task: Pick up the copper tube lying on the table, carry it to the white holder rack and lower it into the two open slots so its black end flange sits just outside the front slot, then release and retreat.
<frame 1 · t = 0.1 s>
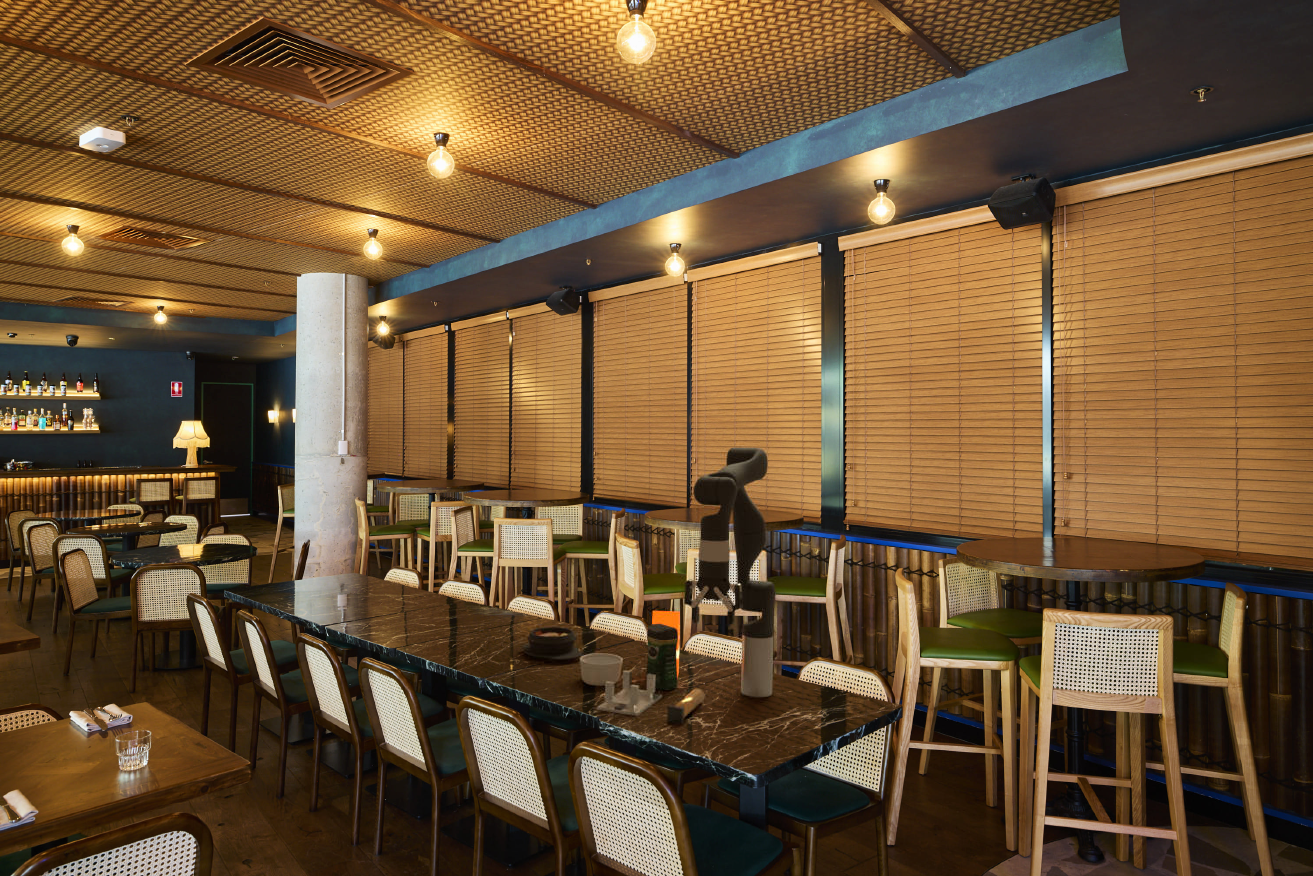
hand: (712, 624, 193), 29 cm above the table, fingers open, 8 cm apart
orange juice: (664, 674, 253), on the table
white holder rack: (630, 703, 223), on the table
tube: (687, 712, 216), on the table
ramekin: (600, 681, 244), on the table
casserole: (551, 656, 272), on the table
coffee jar: (661, 686, 239), on the table
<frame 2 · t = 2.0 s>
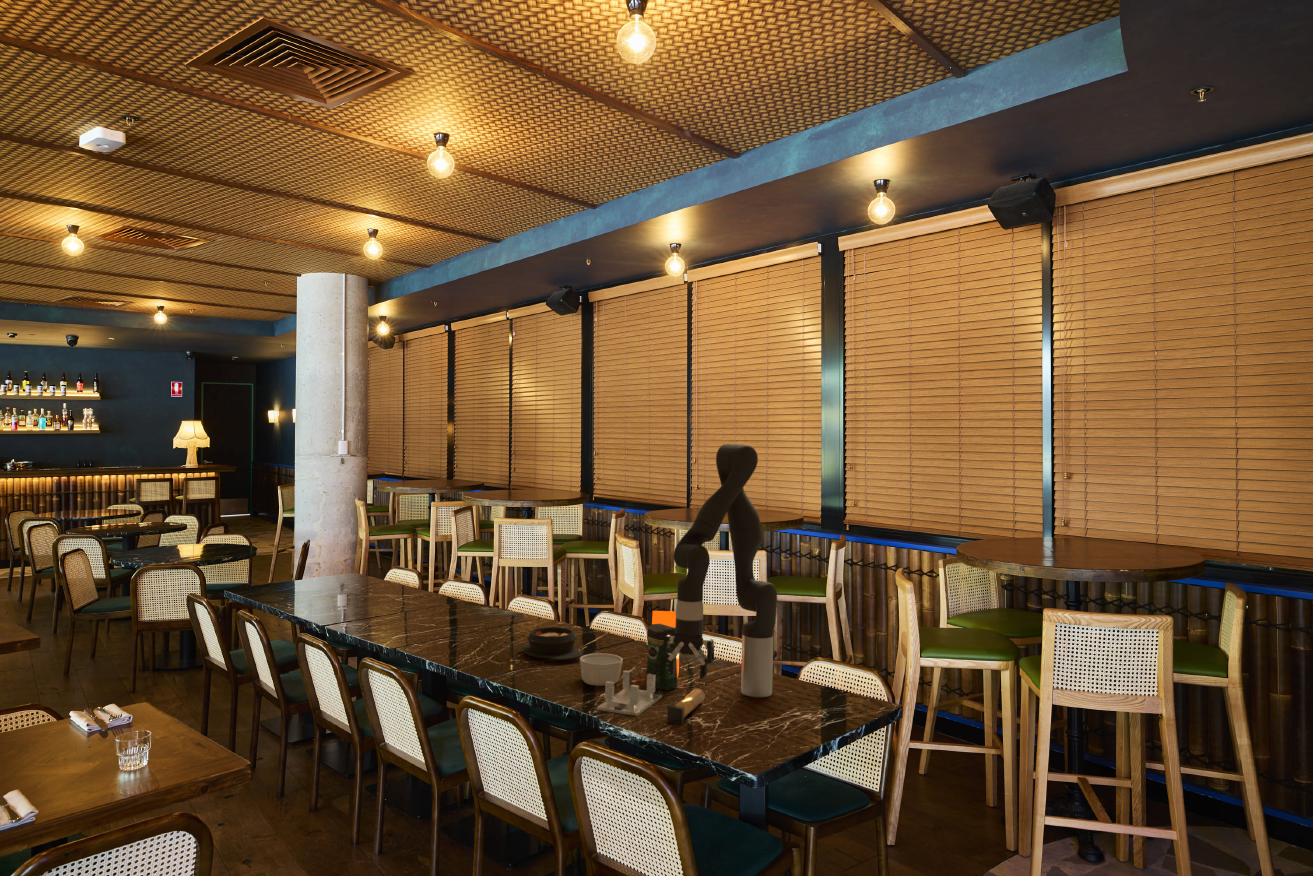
hand: (687, 676, 216), 10 cm above the table, fingers open, 8 cm apart
nothing on the table moved.
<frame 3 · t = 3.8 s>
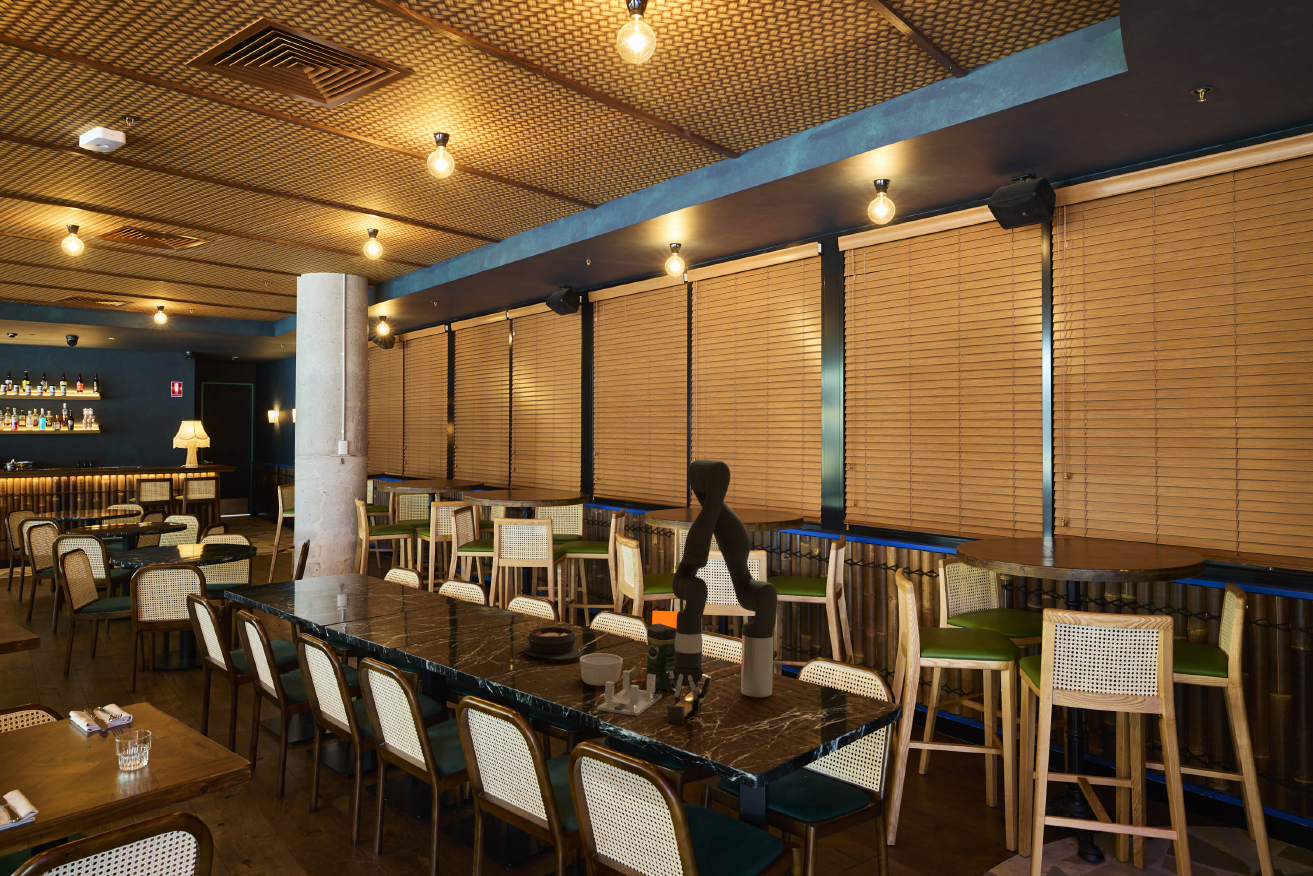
hand: (687, 711, 216), 0 cm above the table, fingers closed on tube, 4 cm apart
tube: (687, 712, 216), on the table, touching gripper
everything else where it was.
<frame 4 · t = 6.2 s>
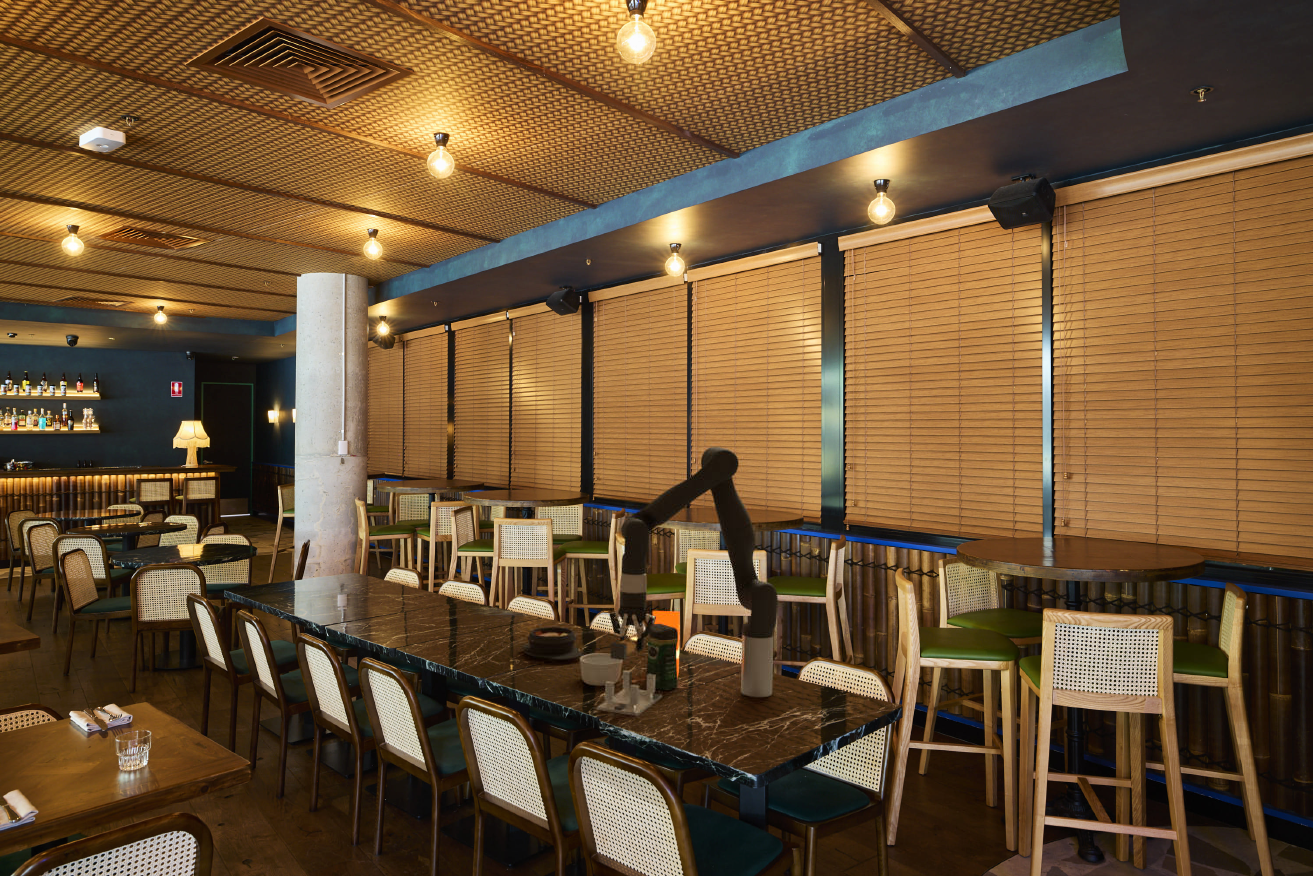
hand: (631, 649, 223), 15 cm above the table, fingers closed on tube, 4 cm apart
tube: (631, 651, 222), point 15 cm above the table, touching gripper
everything else where it was.
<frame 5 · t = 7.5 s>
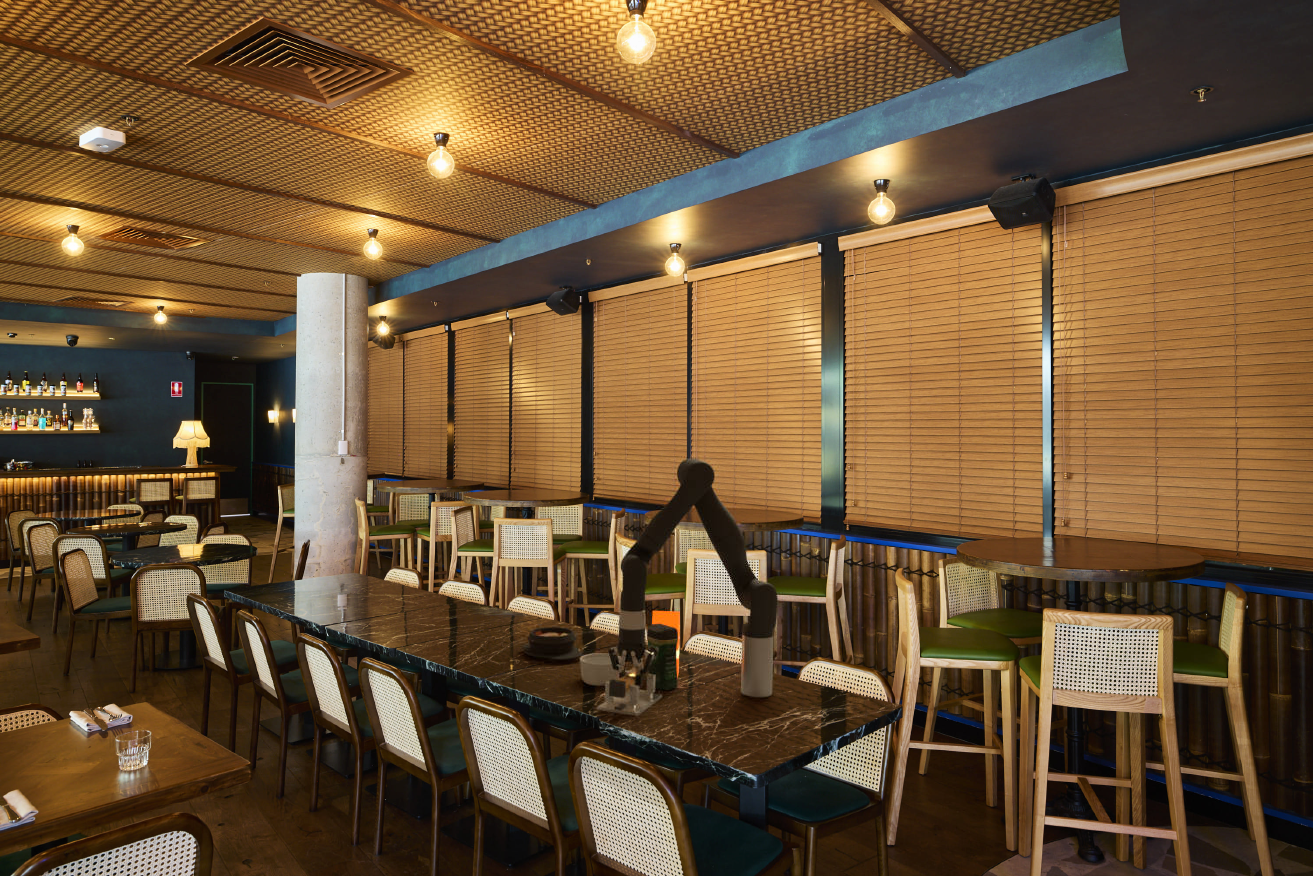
hand: (630, 686, 223), 5 cm above the table, fingers closed on tube, 4 cm apart
tube: (630, 687, 222), point 5 cm above the table, touching gripper
everything else where it was.
when the fingers open (4 cm above the table, at t = 8.4 s): tube drops 1 cm, resting on white holder rack.
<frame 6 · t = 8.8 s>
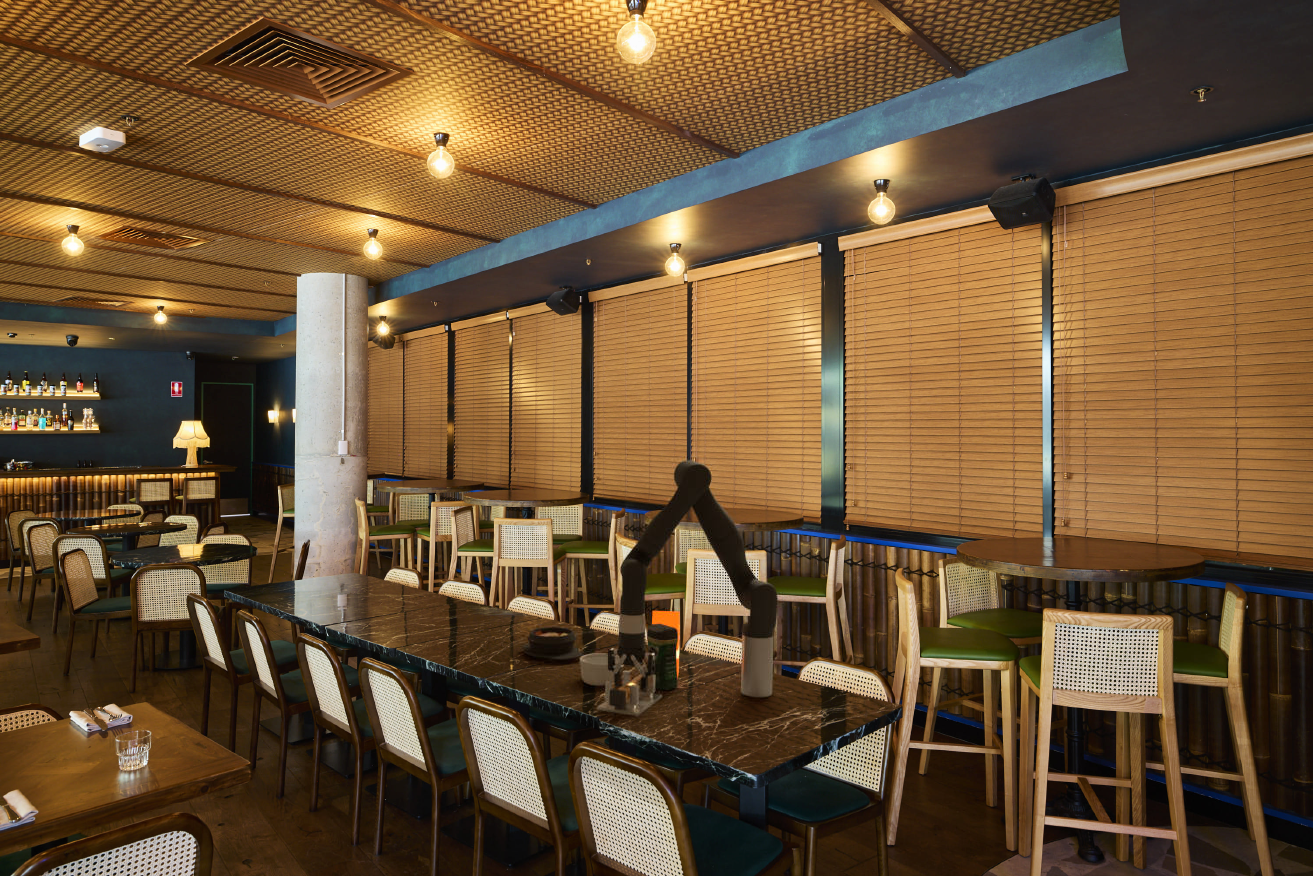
hand: (630, 687, 223), 4 cm above the table, fingers open, 7 cm apart
tube: (630, 696, 223), point 2 cm above the table, touching white holder rack
everything else where it was.
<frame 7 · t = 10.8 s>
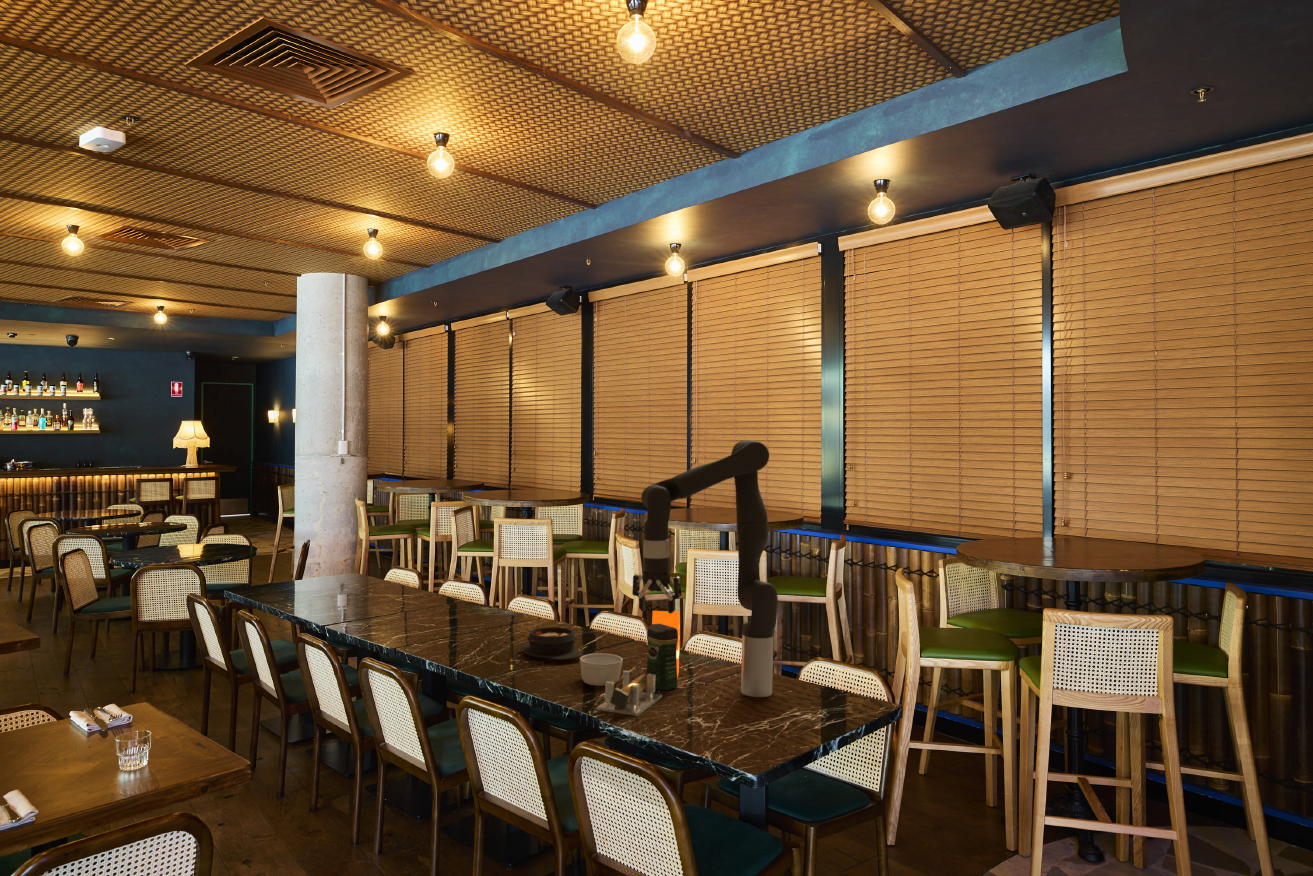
hand: (656, 611, 226), 25 cm above the table, fingers open, 8 cm apart
tube: (630, 695, 223), point 2 cm above the table, tilted 19°, touching white holder rack
everything else where it was.
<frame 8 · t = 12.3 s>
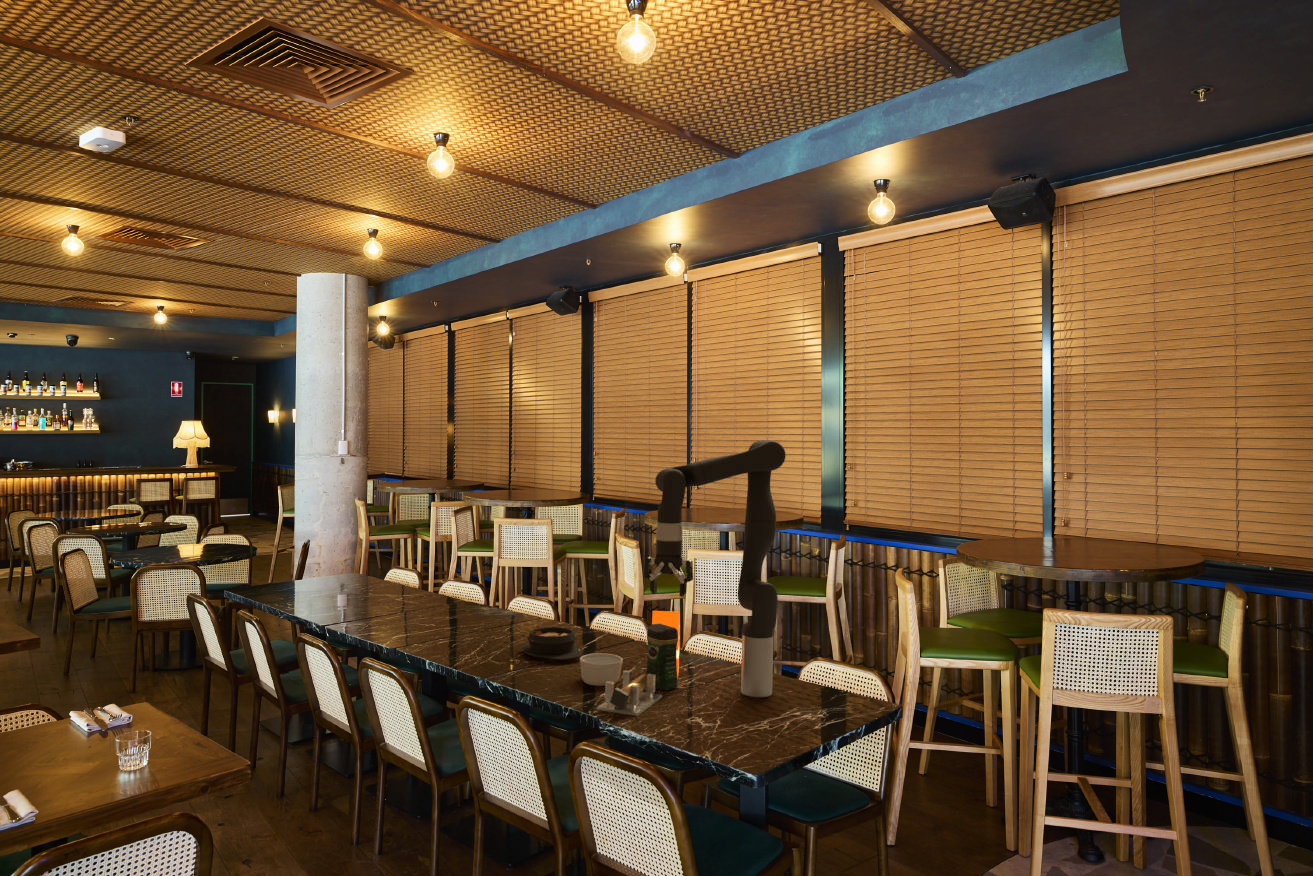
hand: (668, 594, 227), 30 cm above the table, fingers open, 8 cm apart
nothing on the table moved.
at the end: tube 0.1 cm off-centre on the white holder rack, point 2.1 cm above the white holder rack's base; the gripper is holding nothing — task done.
